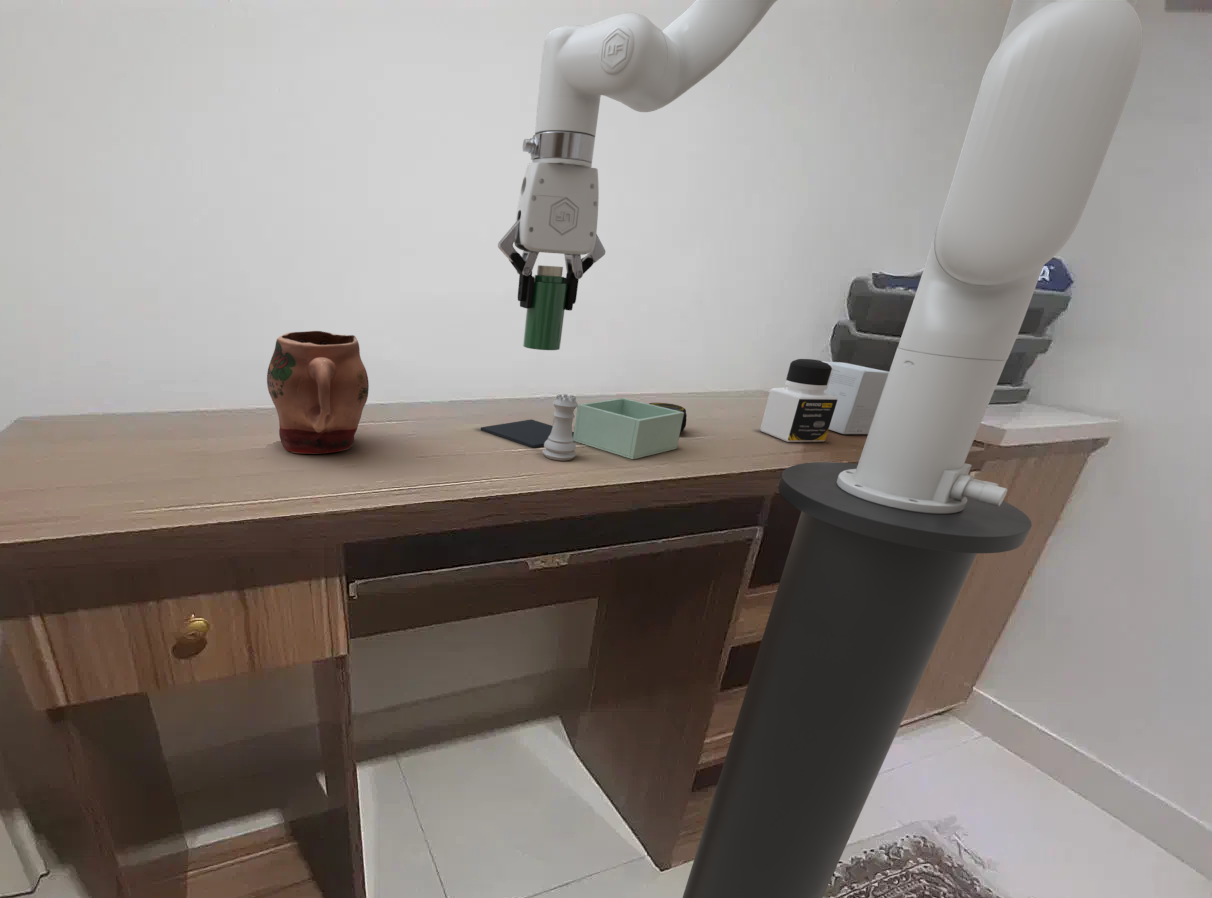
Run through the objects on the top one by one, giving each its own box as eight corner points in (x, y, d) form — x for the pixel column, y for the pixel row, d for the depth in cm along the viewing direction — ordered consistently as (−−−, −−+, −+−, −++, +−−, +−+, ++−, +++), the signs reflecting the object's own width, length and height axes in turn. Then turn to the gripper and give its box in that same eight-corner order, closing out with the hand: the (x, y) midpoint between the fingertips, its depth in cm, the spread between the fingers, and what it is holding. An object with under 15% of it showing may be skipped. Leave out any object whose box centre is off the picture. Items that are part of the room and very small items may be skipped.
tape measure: (638, 431, 102) (642, 407, 100) (641, 422, 108) (645, 399, 106) (683, 437, 100) (688, 413, 98) (683, 427, 106) (688, 404, 104)
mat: (584, 437, 96) (584, 435, 96) (533, 447, 89) (533, 445, 89) (531, 421, 103) (531, 419, 103) (480, 429, 97) (480, 427, 97)
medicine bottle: (787, 442, 101) (809, 363, 96) (758, 431, 107) (778, 356, 102) (825, 442, 102) (849, 364, 97) (794, 431, 109) (815, 357, 104)
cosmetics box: (874, 435, 110) (895, 371, 105) (843, 435, 108) (864, 370, 103) (827, 420, 119) (846, 361, 114) (798, 420, 117) (816, 360, 112)
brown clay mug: (387, 469, 77) (388, 348, 71) (282, 476, 73) (273, 347, 67) (351, 427, 93) (349, 326, 87) (263, 430, 89) (255, 324, 83)
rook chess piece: (535, 453, 87) (542, 393, 84) (561, 450, 89) (569, 391, 86) (555, 462, 84) (563, 400, 80) (582, 459, 86) (591, 398, 82)
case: (676, 448, 94) (684, 412, 91) (632, 459, 87) (639, 420, 85) (617, 431, 101) (622, 397, 98) (572, 440, 94) (577, 404, 92)
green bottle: (567, 349, 91) (577, 267, 86) (542, 351, 88) (551, 266, 83) (540, 344, 94) (549, 265, 90) (515, 345, 91) (523, 264, 87)
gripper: (506, 143, 76) (493, 308, 84) (638, 157, 80) (614, 314, 88) (489, 150, 82) (479, 303, 90) (612, 163, 86) (591, 308, 94)
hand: (545, 307), depth 89 cm, fingers closed on green bottle, 5 cm apart
